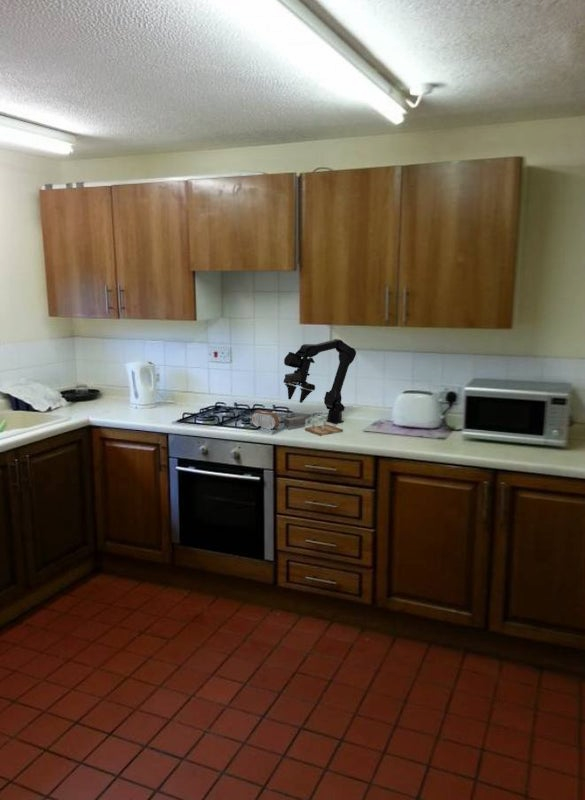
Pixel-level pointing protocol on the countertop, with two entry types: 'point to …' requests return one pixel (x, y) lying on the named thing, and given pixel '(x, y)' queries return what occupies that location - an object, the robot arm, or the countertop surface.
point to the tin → (265, 419)
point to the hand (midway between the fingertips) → (294, 401)
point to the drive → (294, 423)
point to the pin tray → (323, 429)
